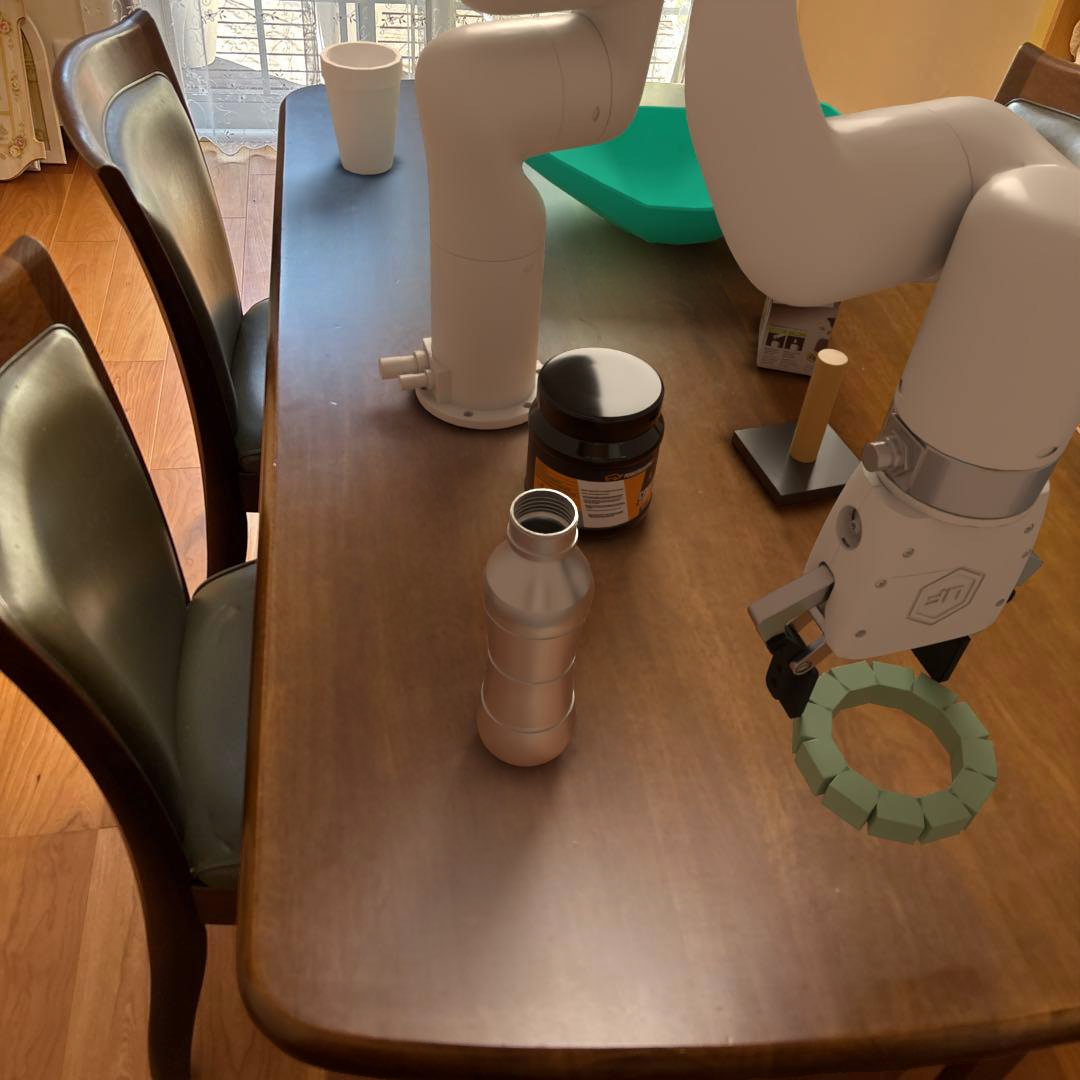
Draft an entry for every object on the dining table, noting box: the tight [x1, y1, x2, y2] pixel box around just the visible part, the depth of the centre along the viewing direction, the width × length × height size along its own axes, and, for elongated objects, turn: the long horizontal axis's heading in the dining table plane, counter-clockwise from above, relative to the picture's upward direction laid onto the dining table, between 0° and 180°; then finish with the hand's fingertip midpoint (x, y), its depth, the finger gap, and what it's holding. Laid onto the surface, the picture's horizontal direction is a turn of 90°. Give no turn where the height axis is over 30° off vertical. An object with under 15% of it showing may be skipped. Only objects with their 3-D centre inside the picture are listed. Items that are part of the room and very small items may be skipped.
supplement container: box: [523, 346, 666, 540], centre depth 80 cm, size 10×10×12 cm
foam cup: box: [319, 40, 404, 176], centre depth 124 cm, size 10×9×13 cm
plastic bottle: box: [475, 489, 595, 768], centre depth 60 cm, size 6×7×20 cm
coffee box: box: [756, 295, 842, 377], centre depth 98 cm, size 9×6×16 cm
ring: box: [791, 660, 999, 846], centre depth 56 cm, size 11×11×2 cm
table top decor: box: [523, 100, 844, 246], centre depth 116 cm, size 40×28×13 cm
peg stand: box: [731, 348, 861, 507], centre depth 86 cm, size 9×9×11 cm
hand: (856, 680), depth 59 cm, fingers closed on ring, 9 cm apart
